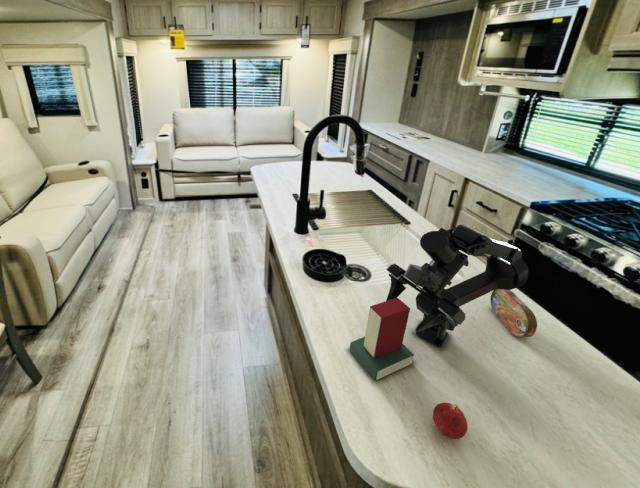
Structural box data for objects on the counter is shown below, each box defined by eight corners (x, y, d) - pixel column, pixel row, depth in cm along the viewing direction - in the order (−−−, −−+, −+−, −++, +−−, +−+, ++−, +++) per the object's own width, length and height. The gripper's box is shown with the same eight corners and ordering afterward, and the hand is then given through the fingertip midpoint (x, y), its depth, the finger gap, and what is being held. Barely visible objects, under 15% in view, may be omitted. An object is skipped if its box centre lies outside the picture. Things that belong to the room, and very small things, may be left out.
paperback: (389, 336, 82) (397, 297, 77) (401, 348, 79) (410, 308, 74) (362, 346, 80) (369, 306, 75) (373, 358, 76) (381, 318, 71)
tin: (486, 303, 97) (494, 281, 93) (498, 304, 96) (506, 282, 93) (519, 343, 83) (529, 319, 80) (532, 345, 82) (543, 320, 79)
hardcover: (384, 336, 86) (385, 328, 85) (412, 363, 78) (414, 355, 77) (349, 350, 82) (350, 342, 81) (375, 381, 74) (377, 372, 73)
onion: (463, 454, 60) (473, 428, 57) (428, 437, 63) (437, 411, 60) (461, 426, 64) (471, 400, 61) (429, 412, 67) (437, 386, 64)
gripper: (397, 236, 81) (358, 282, 81) (469, 278, 65) (421, 335, 65) (414, 255, 87) (377, 297, 87) (484, 298, 70) (439, 350, 71)
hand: (400, 317), depth 77 cm, fingers open, 9 cm apart
